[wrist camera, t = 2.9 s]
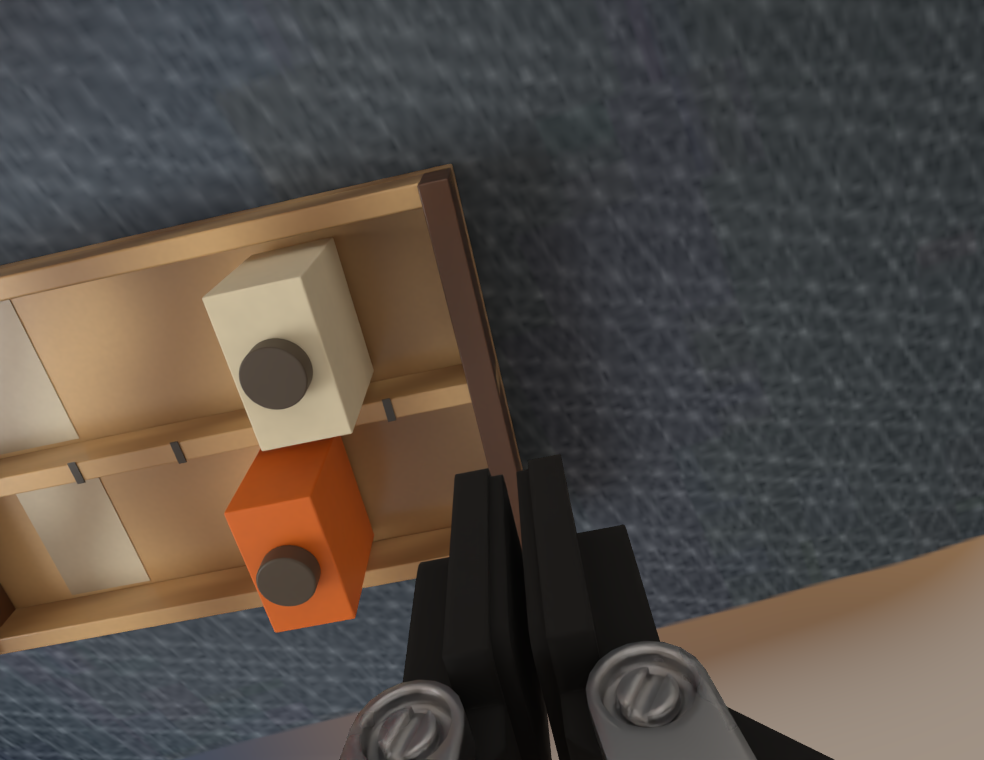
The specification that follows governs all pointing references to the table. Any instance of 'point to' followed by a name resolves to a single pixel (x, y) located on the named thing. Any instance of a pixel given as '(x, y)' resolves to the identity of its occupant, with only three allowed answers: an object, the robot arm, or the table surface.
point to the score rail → (226, 407)
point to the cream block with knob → (293, 343)
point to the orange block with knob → (303, 533)
